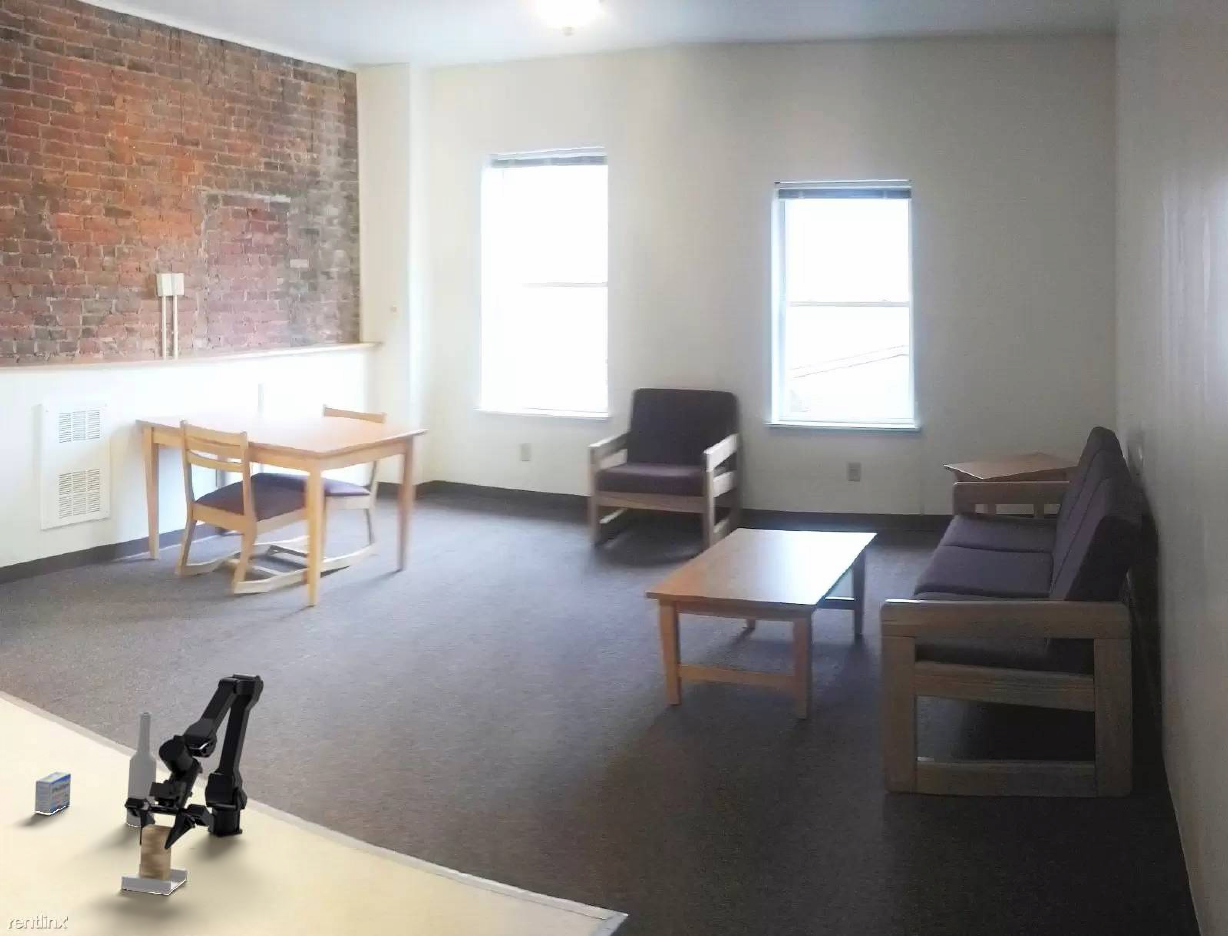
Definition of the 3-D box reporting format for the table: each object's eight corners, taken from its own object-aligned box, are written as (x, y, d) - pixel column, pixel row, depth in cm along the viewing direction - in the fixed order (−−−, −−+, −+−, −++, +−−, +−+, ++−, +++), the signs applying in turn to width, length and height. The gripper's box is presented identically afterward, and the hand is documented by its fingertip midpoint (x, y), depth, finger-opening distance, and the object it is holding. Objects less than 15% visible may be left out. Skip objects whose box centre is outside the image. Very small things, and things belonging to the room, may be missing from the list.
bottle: (159, 819, 300) (164, 710, 299) (146, 828, 294) (151, 717, 292) (134, 816, 301) (139, 708, 299) (120, 825, 295) (126, 715, 293)
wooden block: (139, 877, 262) (142, 828, 261) (147, 871, 265) (149, 824, 264) (162, 880, 261) (165, 832, 260) (170, 875, 264) (172, 827, 263)
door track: (120, 889, 260) (121, 877, 259) (141, 874, 268) (142, 862, 268) (167, 896, 258) (168, 883, 258) (186, 880, 266) (187, 868, 266)
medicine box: (49, 816, 297) (51, 783, 296) (33, 814, 298) (35, 780, 297) (70, 806, 305) (71, 773, 304) (54, 803, 305) (56, 771, 305)
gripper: (130, 760, 266) (100, 826, 256) (208, 770, 264) (180, 837, 254) (147, 783, 275) (119, 847, 265) (223, 793, 272) (197, 858, 262)
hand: (153, 847), depth 261 cm, fingers closed on wooden block, 5 cm apart
